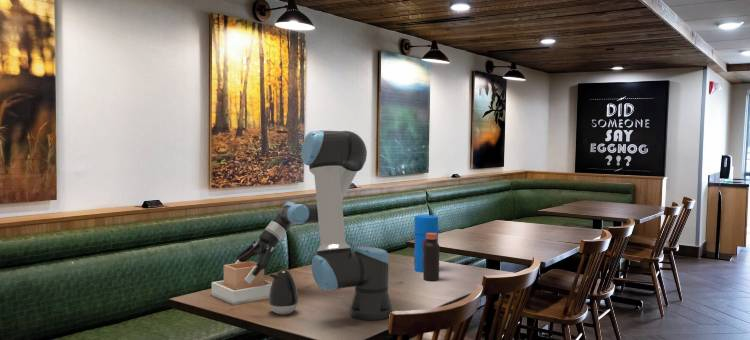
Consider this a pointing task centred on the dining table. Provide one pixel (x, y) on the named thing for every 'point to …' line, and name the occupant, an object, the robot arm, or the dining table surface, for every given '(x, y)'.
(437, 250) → the bottle
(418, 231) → the thermos
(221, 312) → the dining table surface
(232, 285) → the terracotta crate
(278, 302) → the pump dispenser
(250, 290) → the white tray
